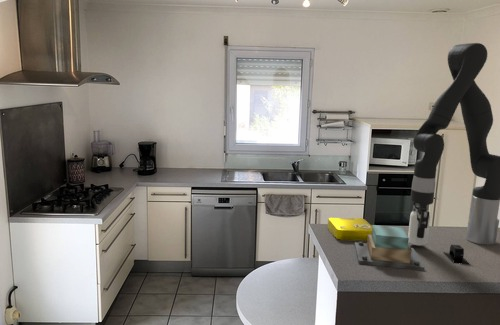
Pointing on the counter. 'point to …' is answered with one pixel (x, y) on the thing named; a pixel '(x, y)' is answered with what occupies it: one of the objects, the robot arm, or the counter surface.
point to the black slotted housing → (456, 254)
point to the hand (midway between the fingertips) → (417, 234)
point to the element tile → (350, 228)
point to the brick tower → (388, 249)
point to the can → (413, 230)
